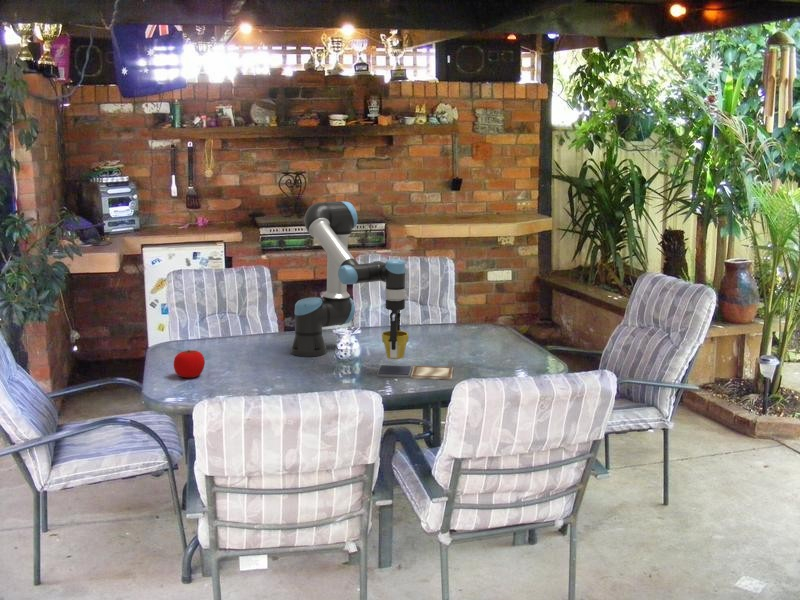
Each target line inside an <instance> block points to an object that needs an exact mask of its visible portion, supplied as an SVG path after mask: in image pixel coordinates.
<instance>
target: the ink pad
mask: <svg viewBox="0 0 800 600" xmlns="http://www.w3.org/2000/svg"><path fill="white" fill-rule="evenodd" d="M412 370H413V366H411V365H388V364H387V365H385V364H381V365H380V366H379V368H378V370H377V373H376V377H379V378H380V377H382V378H384V377H386V378H387V377H388V378H410V379H411V374H412Z"/></svg>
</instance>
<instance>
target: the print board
mask: <svg viewBox="0 0 800 600" xmlns="http://www.w3.org/2000/svg"><path fill="white" fill-rule="evenodd" d="M453 373H454V366H433V365H432V366H430V365H429V366H428V365H414V366H412V371H411V375H410V379H413V380H436V379H445V380H444V381H452V380H453Z"/></svg>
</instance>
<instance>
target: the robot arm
mask: <svg viewBox="0 0 800 600" xmlns="http://www.w3.org/2000/svg"><path fill="white" fill-rule="evenodd" d="M303 221H304V227H305V229H306V231H307V233H309V235H310V236H311V237H312V238H315V239H316V240H317V242H318V243H319V244H320V246H321V247H322V249H323V250H324V251H325V252H326V254H327V260H326V263H327V265H326V268H327V269H326V291H325V292H324V293H323V295H322V298H321V297H318V296H317V297H315V296H313V297H305V298H301V299H299V300H297V301H296V303H295V304H294V331H295V332H294V338H293V341H292V345H291V348H290V353H291V354H292V355H294V356H297V357H307V358H308V357H309V358H310V357H312V358H313V357H318V356H319V357H320V356H323V355H326V354H327V345H326V342H325V339H324V336H323V328H326V327H334V326H343V325H347V324H349V323H351V321H353V319H354V317H355V313H356V305H355V301H354V299H352V298H351V295H350V294H349V292H348V291H347V289H348V287H347V285H355V284H363V283H365V284H366V283H373V282H375V283H376V282H384V283H385V309H386V310H388V311H391V312H390V314H389V318H390V319H389V325H390V329H389V331H390V339H388V341H390V357H391V358H397V331H401V315H402V314H401V311H402V310H405V307H406V306H405V305H406V303H405V302H406V301H405V300H406V299H405V298H406V297H405V295H406V294H407V290H405V289H406V265H405V264H406V262H405V261H404V260H403V259H397V258H394V259H387V260H386V261H385V262H384V261H381V260H372V261H371V262H369V263H368V262H367V263H358V261H357V260H356V259H355V258H354V256H353V255H352V253H351V252H350V251H349V249H348V246H349V243H348V242H349V237H350V236H351V235H352V231H353V230H352V229H354V228H355V227H356V226H357V224H358V213H357V210H356V208H355V207H354V205H353V204H352V203H351V202H350V201H343V200H342V201H328V202H327V201H326V202H323V201H322V202H316V203H314V204H312V205H310V206H309V207H308V208H307V210H306V212H305V214H304V220H303ZM392 337H394V338H392Z"/></svg>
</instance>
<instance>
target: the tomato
mask: <svg viewBox="0 0 800 600" xmlns="http://www.w3.org/2000/svg"><path fill="white" fill-rule="evenodd" d="M205 362H206V361H205V357H204V354H202V353H201V351H198V350H185V351H180V352H178V353H177V354H176V355H175V357H174V360H173V369H174V372H175V374H176V375H178V376H179V377H182V378H189V379H190V378H196V377H199V376H200V375H201V374H202V372H203V371H204V368H205V366H206V365H205V364H206V363H205Z"/></svg>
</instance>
